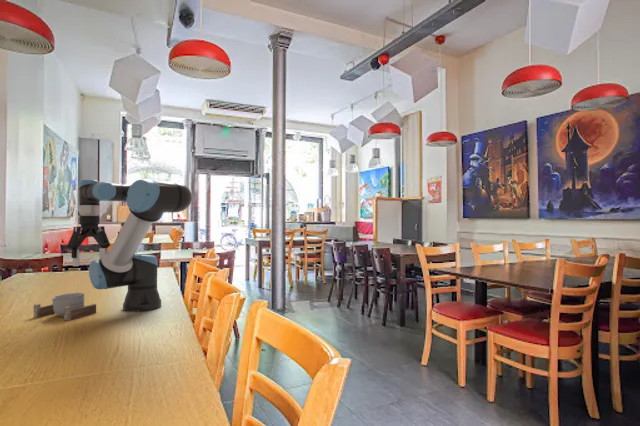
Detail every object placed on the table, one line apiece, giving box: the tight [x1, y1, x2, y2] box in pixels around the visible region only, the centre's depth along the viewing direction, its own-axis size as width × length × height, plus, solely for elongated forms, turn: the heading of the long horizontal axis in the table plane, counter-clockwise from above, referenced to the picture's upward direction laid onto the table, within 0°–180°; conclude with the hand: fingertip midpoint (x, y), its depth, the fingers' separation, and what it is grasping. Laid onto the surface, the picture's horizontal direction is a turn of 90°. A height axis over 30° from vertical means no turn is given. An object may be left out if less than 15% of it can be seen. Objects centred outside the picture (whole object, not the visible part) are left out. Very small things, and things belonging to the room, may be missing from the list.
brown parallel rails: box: [33, 303, 97, 322], centre depth 150 cm, size 17×13×5 cm
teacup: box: [51, 291, 85, 318], centre depth 152 cm, size 14×11×8 cm
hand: (89, 264), depth 162 cm, fingers open, 13 cm apart
